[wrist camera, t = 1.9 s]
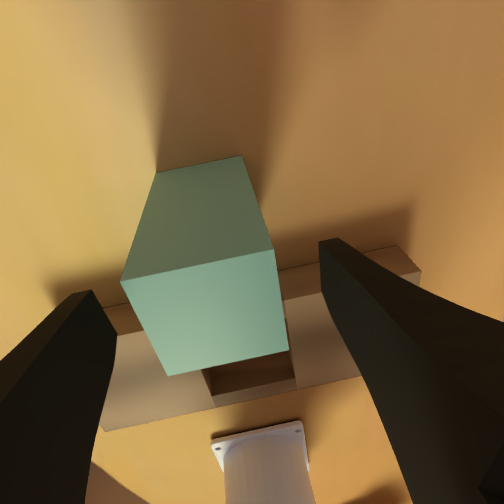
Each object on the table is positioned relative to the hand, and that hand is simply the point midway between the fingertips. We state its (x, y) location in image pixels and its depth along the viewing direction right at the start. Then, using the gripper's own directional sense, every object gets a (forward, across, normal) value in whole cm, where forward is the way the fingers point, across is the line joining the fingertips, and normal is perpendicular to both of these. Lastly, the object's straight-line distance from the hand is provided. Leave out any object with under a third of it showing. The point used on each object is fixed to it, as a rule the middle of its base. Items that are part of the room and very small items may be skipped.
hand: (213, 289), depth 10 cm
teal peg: (+7, 0, 0) cm, 7 cm away
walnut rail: (+7, 0, +9) cm, 11 cm away
